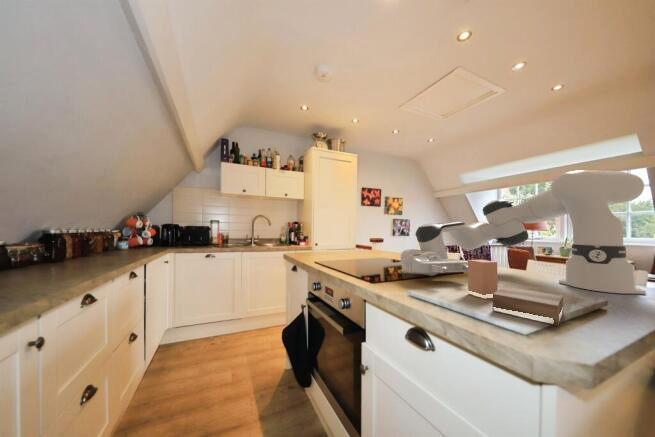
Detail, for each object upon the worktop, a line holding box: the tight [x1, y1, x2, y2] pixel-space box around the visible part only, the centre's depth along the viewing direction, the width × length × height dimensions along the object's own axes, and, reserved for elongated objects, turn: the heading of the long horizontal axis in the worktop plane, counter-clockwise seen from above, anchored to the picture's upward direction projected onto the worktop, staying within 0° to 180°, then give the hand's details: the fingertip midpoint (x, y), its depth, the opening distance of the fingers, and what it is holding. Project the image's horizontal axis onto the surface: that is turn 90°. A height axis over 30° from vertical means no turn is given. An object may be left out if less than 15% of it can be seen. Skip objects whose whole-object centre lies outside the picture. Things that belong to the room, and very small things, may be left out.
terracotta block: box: [467, 259, 499, 295], centre depth 68 cm, size 5×5×10 cm
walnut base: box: [492, 286, 564, 327], centre depth 55 cm, size 11×11×4 cm
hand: (457, 269), depth 77 cm, fingers open, 8 cm apart
